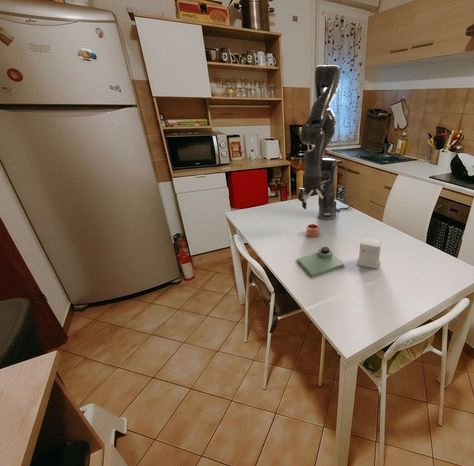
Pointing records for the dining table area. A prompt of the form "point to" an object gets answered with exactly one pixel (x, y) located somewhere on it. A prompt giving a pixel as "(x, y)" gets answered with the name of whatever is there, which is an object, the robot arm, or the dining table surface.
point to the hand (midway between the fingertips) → (312, 207)
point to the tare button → (325, 250)
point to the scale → (320, 263)
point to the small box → (369, 253)
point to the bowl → (312, 230)
